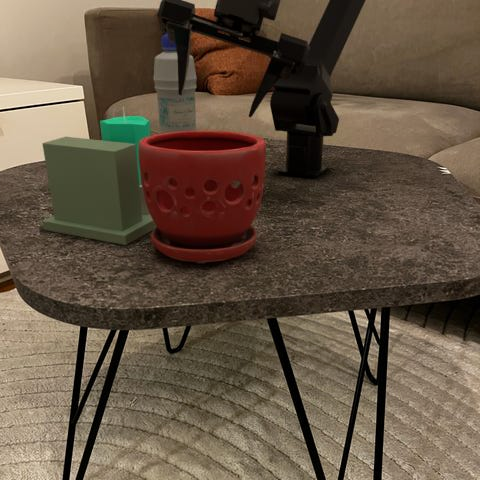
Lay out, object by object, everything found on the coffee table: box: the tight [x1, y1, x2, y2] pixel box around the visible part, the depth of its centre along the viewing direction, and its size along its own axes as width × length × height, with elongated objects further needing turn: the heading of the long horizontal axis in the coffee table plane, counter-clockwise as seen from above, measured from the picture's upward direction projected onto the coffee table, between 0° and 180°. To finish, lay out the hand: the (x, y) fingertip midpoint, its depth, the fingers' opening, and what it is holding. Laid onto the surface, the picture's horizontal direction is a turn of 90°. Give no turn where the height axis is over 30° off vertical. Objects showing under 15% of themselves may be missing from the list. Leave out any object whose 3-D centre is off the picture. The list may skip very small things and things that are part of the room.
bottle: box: [153, 33, 198, 134], centre depth 94 cm, size 7×7×20 cm
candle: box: [99, 106, 152, 185], centre depth 73 cm, size 6×6×12 cm
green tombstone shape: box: [42, 136, 157, 246], centre depth 74 cm, size 18×12×10 cm, turn 154°
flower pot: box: [139, 130, 267, 265], centre depth 63 cm, size 13×13×12 cm
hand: (215, 105), depth 75 cm, fingers open, 9 cm apart
